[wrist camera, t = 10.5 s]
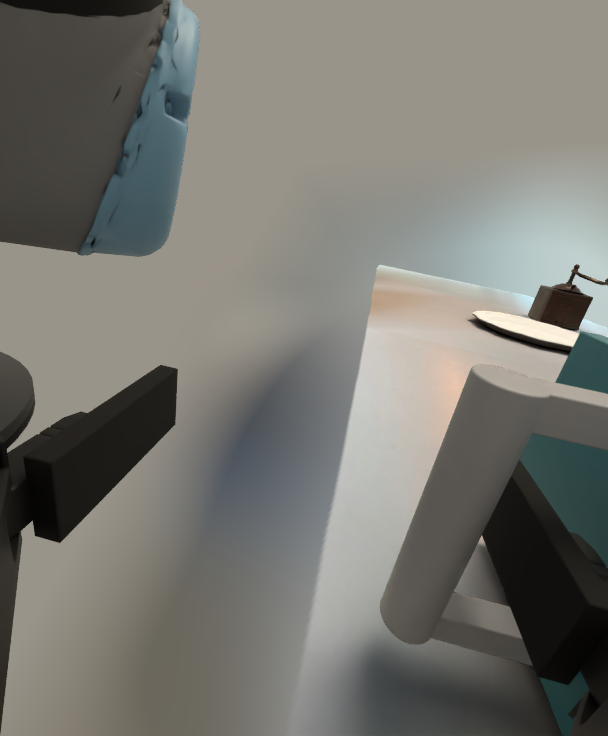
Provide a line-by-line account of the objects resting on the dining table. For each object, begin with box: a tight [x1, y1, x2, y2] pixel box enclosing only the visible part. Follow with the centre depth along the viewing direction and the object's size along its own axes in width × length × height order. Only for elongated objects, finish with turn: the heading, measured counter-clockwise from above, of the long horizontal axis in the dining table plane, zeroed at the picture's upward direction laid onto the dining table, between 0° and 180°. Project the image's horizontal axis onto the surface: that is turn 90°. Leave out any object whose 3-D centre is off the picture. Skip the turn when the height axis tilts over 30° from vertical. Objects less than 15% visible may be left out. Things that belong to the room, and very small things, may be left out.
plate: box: [473, 311, 579, 351], centre depth 80 cm, size 25×25×2 cm
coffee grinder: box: [528, 265, 608, 330], centre depth 99 cm, size 16×11×18 cm
